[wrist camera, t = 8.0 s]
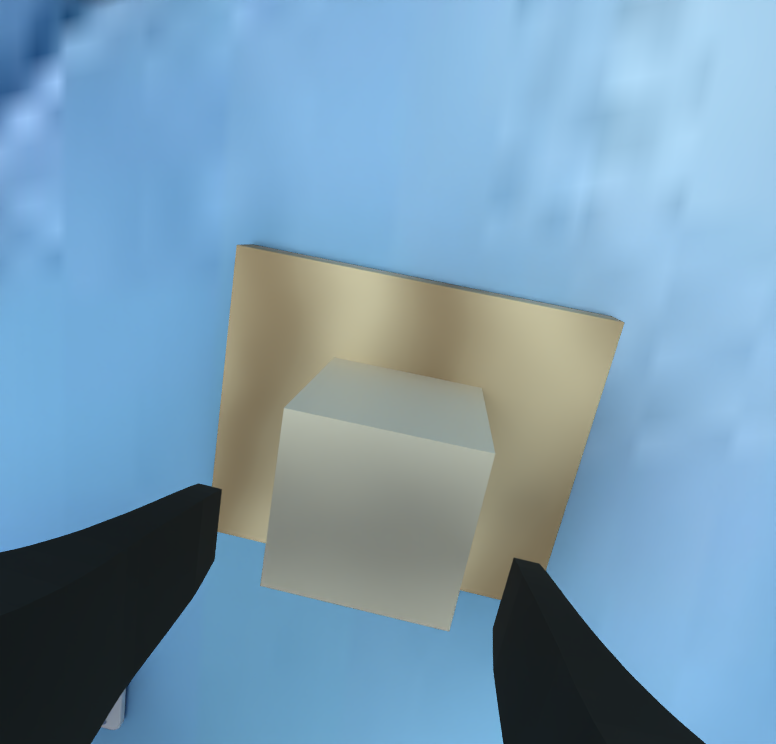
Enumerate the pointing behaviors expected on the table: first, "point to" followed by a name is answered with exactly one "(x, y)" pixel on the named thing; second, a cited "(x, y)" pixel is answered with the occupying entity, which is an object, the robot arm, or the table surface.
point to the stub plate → (423, 357)
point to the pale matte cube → (378, 491)
